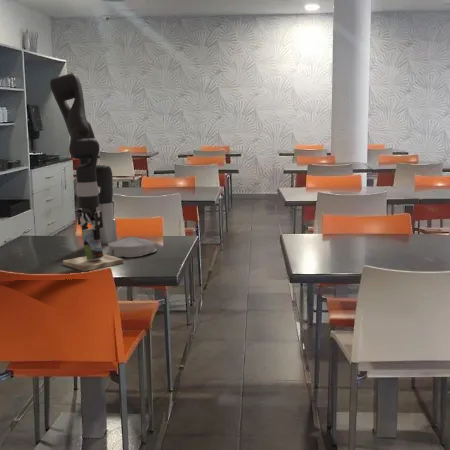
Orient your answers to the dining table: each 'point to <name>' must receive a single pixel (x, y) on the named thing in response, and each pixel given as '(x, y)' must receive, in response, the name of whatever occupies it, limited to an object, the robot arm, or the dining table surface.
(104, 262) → the coaster board
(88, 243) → the beverage can
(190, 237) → the dining table surface
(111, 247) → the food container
